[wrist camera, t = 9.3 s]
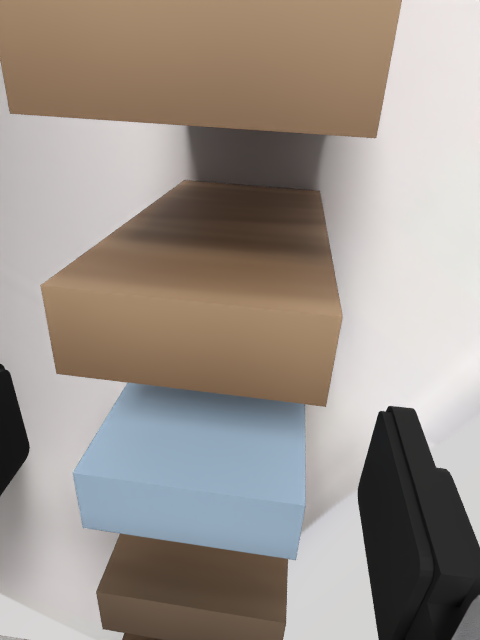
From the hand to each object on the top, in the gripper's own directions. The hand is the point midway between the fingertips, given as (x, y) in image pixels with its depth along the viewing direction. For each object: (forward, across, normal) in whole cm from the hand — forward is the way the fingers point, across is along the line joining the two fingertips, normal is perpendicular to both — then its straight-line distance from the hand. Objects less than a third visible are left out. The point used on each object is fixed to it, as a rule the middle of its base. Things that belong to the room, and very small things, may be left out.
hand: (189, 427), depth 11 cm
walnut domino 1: (+8, -1, -8) cm, 11 cm away
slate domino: (+8, -1, +1) cm, 8 cm away
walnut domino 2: (+8, -1, -3) cm, 9 cm away
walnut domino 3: (+8, -1, +5) cm, 10 cm away
